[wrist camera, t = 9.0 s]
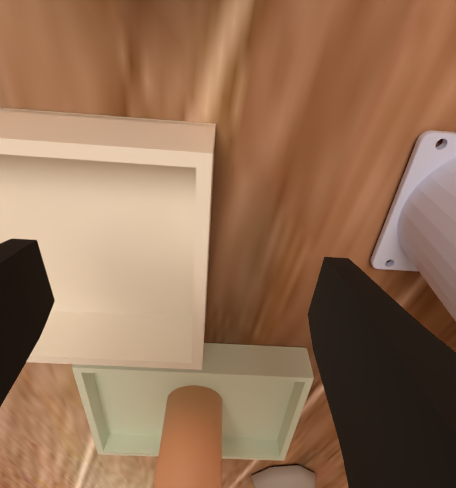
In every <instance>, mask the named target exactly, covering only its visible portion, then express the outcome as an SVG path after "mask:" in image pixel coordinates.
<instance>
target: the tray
mask: <svg viewBox="0 0 456 488" xmlns="http://www.w3.org/2000/svg"><path fill="white" fill-rule="evenodd" d="M72 369H73V373H74V376H75V379H76V383H77V386H78V389H79V393H80V396H81V399H82V403H83V406H84V409H85V413H86V416H87V419H88V422H89V426H90V429H91V432H92V436H93V439H94V442H95V446H96V449H97V452H98V454H101V455H131V456H158V455H159V449H160V442H161V436H162V429H163V423H164V416H165V410H166V403H167V398H168V395H169V394H170V393H171V392H172V391H173V390H175V389H177V388H180V387H183V386H190V385H196V386H204V387H207V388H210V389H212V390H214V391H216V392H217V393H218V394H219V395H220V396H221V398H222V459H251V460H281V461H284V460H285V457H286V454H287V451H288V449H289V446H290V443H291V440H292V437H293V435H294V432H295V429H296V426H297V424H298V421H299V418H300V415H301V413H302V410H303V407H304V404H305V401H306V399H307V396H308V393H309V390H310V388H311V385H312V382H313V379H314V376H313V372H312V368H311V363H310V359H309V355H308V351H307V348H303V347H282V346H261V345H240V344H219V343H204V349H203V364H202V370H195V369H172V368H150V367H127V366H104V365H82V364H73V366H72Z"/></svg>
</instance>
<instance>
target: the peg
mask: <svg viewBox="0 0 456 488" xmlns="http://www.w3.org/2000/svg"><path fill="white" fill-rule="evenodd" d="M221 481H222V398H221V396H220V395H219V394H218V393H217V392H216V391H214V390H212V389H210V388H207V387H204V386H196V385H190V386H183V387H180V388H177V389H175V390H173V391H172V392H171V393H170V394H169V395H168V398H167V403H166V410H165V416H164V423H163V429H162V436H161V442H160V449H159V455H158V462H157V468H156V475H155V481H154V488H221Z"/></svg>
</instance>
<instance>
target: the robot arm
mask: <svg viewBox="0 0 456 488" xmlns="http://www.w3.org/2000/svg"><path fill="white" fill-rule="evenodd" d="M440 139H443V142H442V143H441V145H439V146H438V147H435V146H436V143H437V141H439V140H440ZM388 260H391V261H390V262H388V263H386V261H388ZM370 262H371V264H372V266H373V267H374V268H376V269H385V270H402V271H419V272H420V274H421V275H422V277H423V278H424V279H425V281H426V282H427V283H428V285H429V286H430V287H431V289H432V290H433V291H434V293H435V294H436V296H437V297H438V298H439V300H440V301H441V302H442V304H443V305H444V306H445V308H446V309H447V310H448V312H449V313H450V315H451V316H452V317H453V319H454V320H455V321H456V132H446V131H433V130H431V131H426V132H424V133H422V134H421V135H420V136H419V138H418V139H417V142H416V144H415V147H414V149H413V152H412V154H411V157H410V159H409V162H408V165H407V167H406V170H405V172H404V175H403V177H402V180H401V183H400V185H399V188H398V190H397V193H396V195H395V198H394V201H393V203H392V206H391V208H390V211H389V213H388V216H387V218H386V221H385V224H384V226H383V229H382V231H381V234H380V236H379V239H378V242H377V244H376V247H375V249H374V252H373V254H372V257H371V261H370ZM54 302H55V300H54V296H53V293H52V289H51V286H50V283H49V279H48V276H47V273H46V269H45V266H44V262H43V259H42V256H41V252H40V249H39V245H38V242H37V240H29V239H9V240H7V241H5V242H2V243H0V406H1V405H2V403H3V401H4V399H5V398H6V396H7V394H8V392H9V391H10V389H11V387H12V386H13V384H14V382H15V380H16V379H17V377H18V375H19V373H20V372H21V370H22V368H23V367H24V365H25V363H26V361H27V360H28V358H29V356H30V354H31V353H32V351H33V349H34V347H35V345H36V344H37V342H38V340H39V338H40V336H41V334H42V332H43V329H44V327H45V325H46V322H47V320H48V317H49V315H50V312H51V309H52V307H53V304H54ZM308 318H309V325H310V333H311V339H312V345H313V350H314V354H315V358H316V361H317V365H318V368H319V372H320V376H321V379H322V383H323V386H324V390H325V393H326V396H327V400H328V403H329V407H330V410H331V414H332V417H333V421H334V424H335V428H336V431H337V435H338V438H339V443H340V447H341V451H342V455H343V459H344V465H345V470H346V475H347V480H348V486H349V488H456V353H455V352H454V351H453V350H452V349H450V348H449V347H448V346H447V345H446V344H444V343H443V342H442V341H441V340H439V339H438V338H437V337H436V336H435V335H433V334H432V333H431V332H430V331H429V330H427V329H426V328H425V327H424V326H423V325H422V324H420V323H419V322H418V321H417V320H416V319H415V318H413V317H412V316H411V315H410V314H409V313H408V312H407V311H406V310H404V309H403V308H402V307H401V306H400V305H399V304H398V303H397V302H396V301H394V300H393V299H392V298H391V297H390V296H389V295H388V294H387V293H386V292H385V291H384V290H382V289H381V288H380V287H379V286H378V285H377V284H376V283H375V282H374V281H373V280H372V279H371V278H370V277H368V276H367V275H366V274H365V273H364V272H363V271H362V270H361V269H360V268H359V267H358V266H356V265H355V264H354V263H353V262H352V261H351V260H349V259H348V258H332V257H324V261H323V264H322V267H321V271H320V274H319V278H318V281H317V284H316V288H315V291H314V295H313V298H312V302H311V305H310V308H309V312H308Z"/></svg>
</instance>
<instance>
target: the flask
mask: <svg viewBox="0 0 456 488" xmlns="http://www.w3.org/2000/svg"><path fill="white" fill-rule="evenodd" d="M251 478H252V481H253V484H254V488H316V474H315V473H313V472H311V471H309V470H307V469H305V468H303V467H301V466H299V465H294V466H280V467H270V468H268V469H266V470H263V471H261V472H259V473H256V474H254V475H252V476H251Z"/></svg>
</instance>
